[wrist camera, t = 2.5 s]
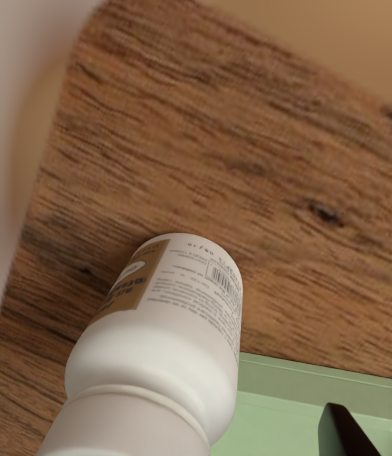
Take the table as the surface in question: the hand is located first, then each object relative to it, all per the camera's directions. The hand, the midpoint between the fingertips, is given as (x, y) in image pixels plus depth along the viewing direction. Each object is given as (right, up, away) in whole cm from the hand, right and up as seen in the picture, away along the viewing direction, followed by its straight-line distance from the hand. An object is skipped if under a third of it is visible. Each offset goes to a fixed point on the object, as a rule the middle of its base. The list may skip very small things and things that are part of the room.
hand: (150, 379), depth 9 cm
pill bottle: (+1, +2, +4) cm, 5 cm away
